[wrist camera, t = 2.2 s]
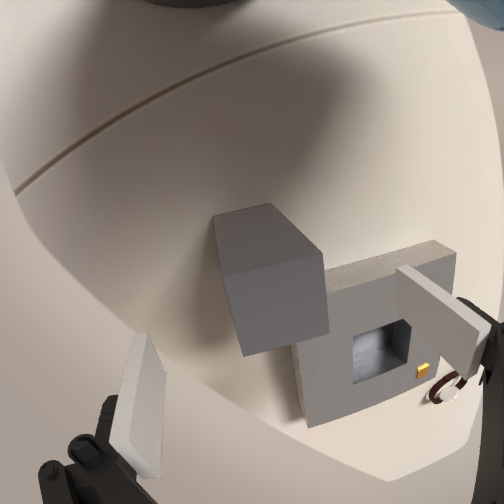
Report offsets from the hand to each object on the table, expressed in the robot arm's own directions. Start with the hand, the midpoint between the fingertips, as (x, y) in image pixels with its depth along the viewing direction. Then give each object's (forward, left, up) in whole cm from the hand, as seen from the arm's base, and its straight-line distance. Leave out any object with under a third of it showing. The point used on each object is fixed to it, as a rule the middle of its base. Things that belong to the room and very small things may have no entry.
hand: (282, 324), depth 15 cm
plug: (0, 0, -13) cm, 13 cm away
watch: (+32, +27, -13) cm, 44 cm away
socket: (+14, +11, -13) cm, 22 cm away
